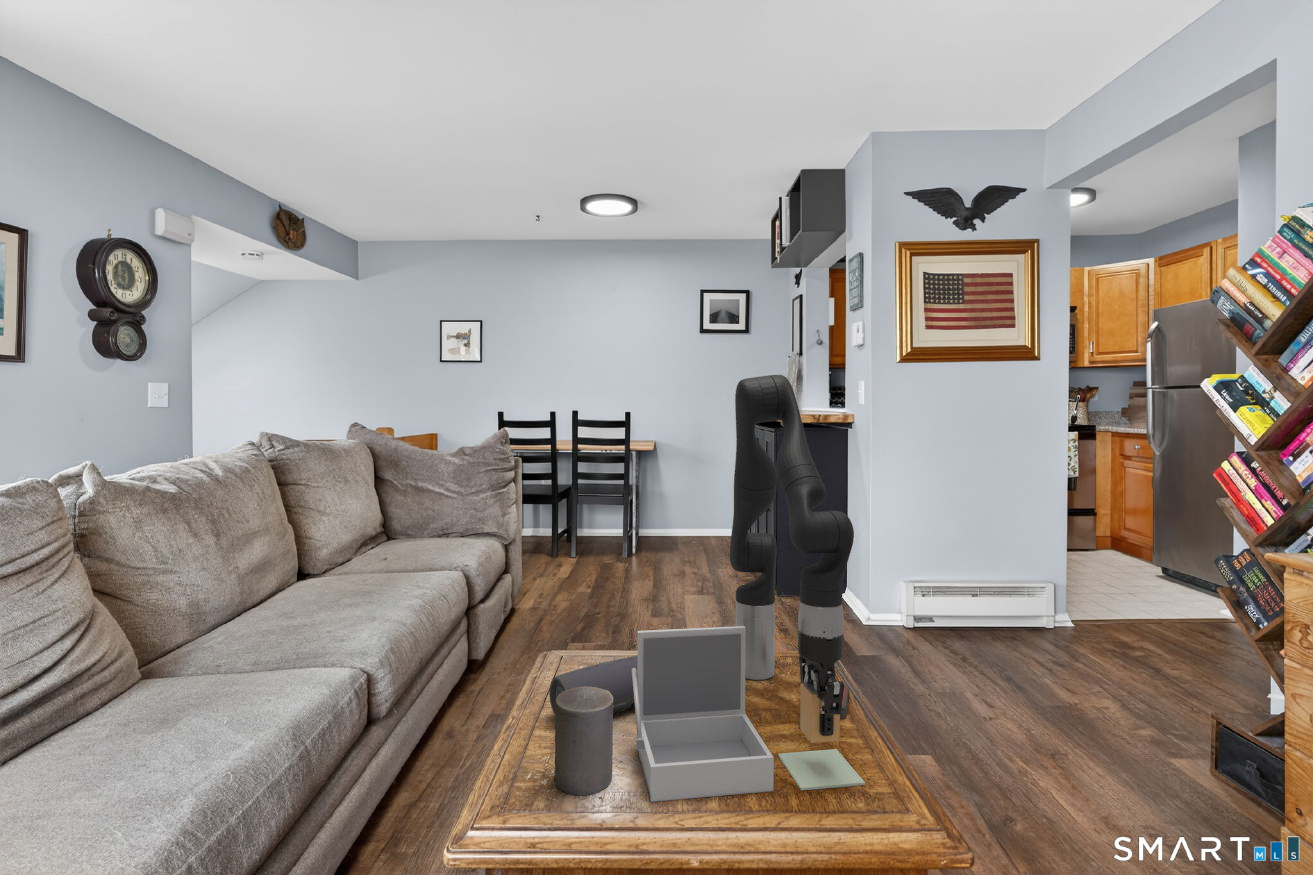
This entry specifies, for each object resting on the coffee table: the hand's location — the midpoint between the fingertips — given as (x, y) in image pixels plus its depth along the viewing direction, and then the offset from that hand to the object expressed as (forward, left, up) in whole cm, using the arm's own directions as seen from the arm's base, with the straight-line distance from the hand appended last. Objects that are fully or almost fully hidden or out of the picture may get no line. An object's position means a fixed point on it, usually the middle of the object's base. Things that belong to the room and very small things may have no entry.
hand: (819, 726), depth 111 cm
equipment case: (-4, -21, -7) cm, 22 cm away
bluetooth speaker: (-28, -34, -8) cm, 45 cm away
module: (0, 0, -1) cm, 1 cm away
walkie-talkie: (-21, +10, -8) cm, 25 cm away
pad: (0, 0, -7) cm, 7 cm away
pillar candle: (-3, -40, -8) cm, 41 cm away
